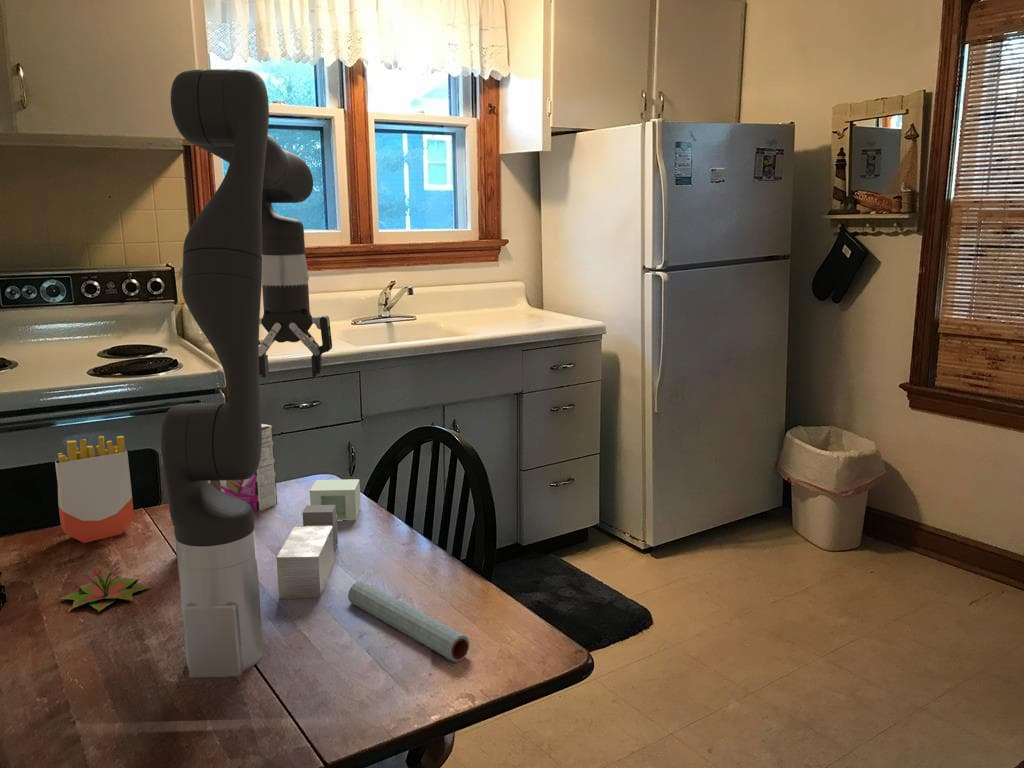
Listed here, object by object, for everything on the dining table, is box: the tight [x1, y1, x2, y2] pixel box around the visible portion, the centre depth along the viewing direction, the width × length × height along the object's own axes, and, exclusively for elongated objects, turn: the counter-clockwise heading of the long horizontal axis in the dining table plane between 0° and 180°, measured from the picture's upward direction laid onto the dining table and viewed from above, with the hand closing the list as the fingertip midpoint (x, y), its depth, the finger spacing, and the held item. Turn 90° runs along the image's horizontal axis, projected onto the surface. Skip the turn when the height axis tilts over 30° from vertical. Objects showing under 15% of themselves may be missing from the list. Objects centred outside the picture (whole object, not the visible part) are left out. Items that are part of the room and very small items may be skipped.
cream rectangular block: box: [276, 526, 335, 600], centre depth 126 cm, size 6×12×6 cm, turn 2°
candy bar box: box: [218, 423, 278, 512], centre depth 158 cm, size 11×5×16 cm, turn 58°
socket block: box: [309, 478, 362, 522], centre depth 152 cm, size 8×6×6 cm
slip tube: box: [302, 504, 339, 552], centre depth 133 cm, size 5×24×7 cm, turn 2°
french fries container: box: [54, 435, 135, 544], centre depth 143 cm, size 5×11×18 cm, turn 128°
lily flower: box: [58, 563, 152, 612], centre depth 122 cm, size 12×12×5 cm
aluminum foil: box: [347, 581, 471, 677], centre depth 111 cm, size 23×7×3 cm, turn 44°
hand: (290, 376), depth 143 cm, fingers open, 8 cm apart
